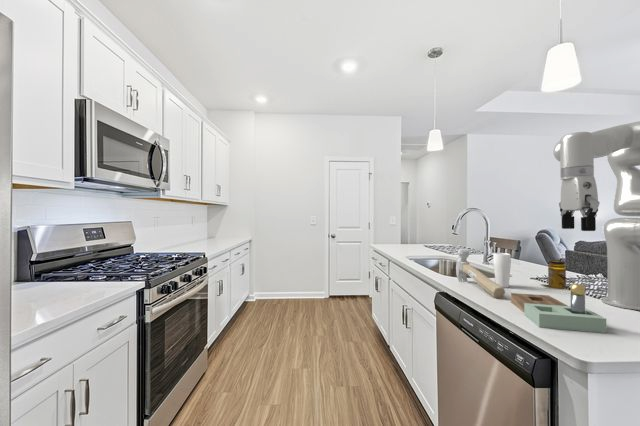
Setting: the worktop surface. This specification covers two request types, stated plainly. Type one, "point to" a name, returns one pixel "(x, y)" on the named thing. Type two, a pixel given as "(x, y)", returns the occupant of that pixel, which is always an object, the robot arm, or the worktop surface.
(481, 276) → the hammer
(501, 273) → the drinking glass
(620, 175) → the robot arm
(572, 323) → the frame
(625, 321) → the worktop surface
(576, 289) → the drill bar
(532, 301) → the socket block
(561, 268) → the condiment
